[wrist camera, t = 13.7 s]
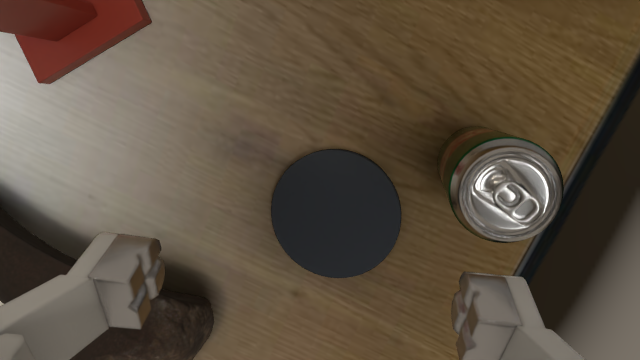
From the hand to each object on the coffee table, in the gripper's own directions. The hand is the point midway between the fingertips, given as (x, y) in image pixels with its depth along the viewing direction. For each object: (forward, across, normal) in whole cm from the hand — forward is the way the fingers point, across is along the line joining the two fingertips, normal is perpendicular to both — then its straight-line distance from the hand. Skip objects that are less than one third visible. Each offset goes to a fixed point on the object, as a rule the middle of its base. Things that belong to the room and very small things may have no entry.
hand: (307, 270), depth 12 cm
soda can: (+19, -10, +7) cm, 23 cm away
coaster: (+18, -1, +12) cm, 22 cm away
